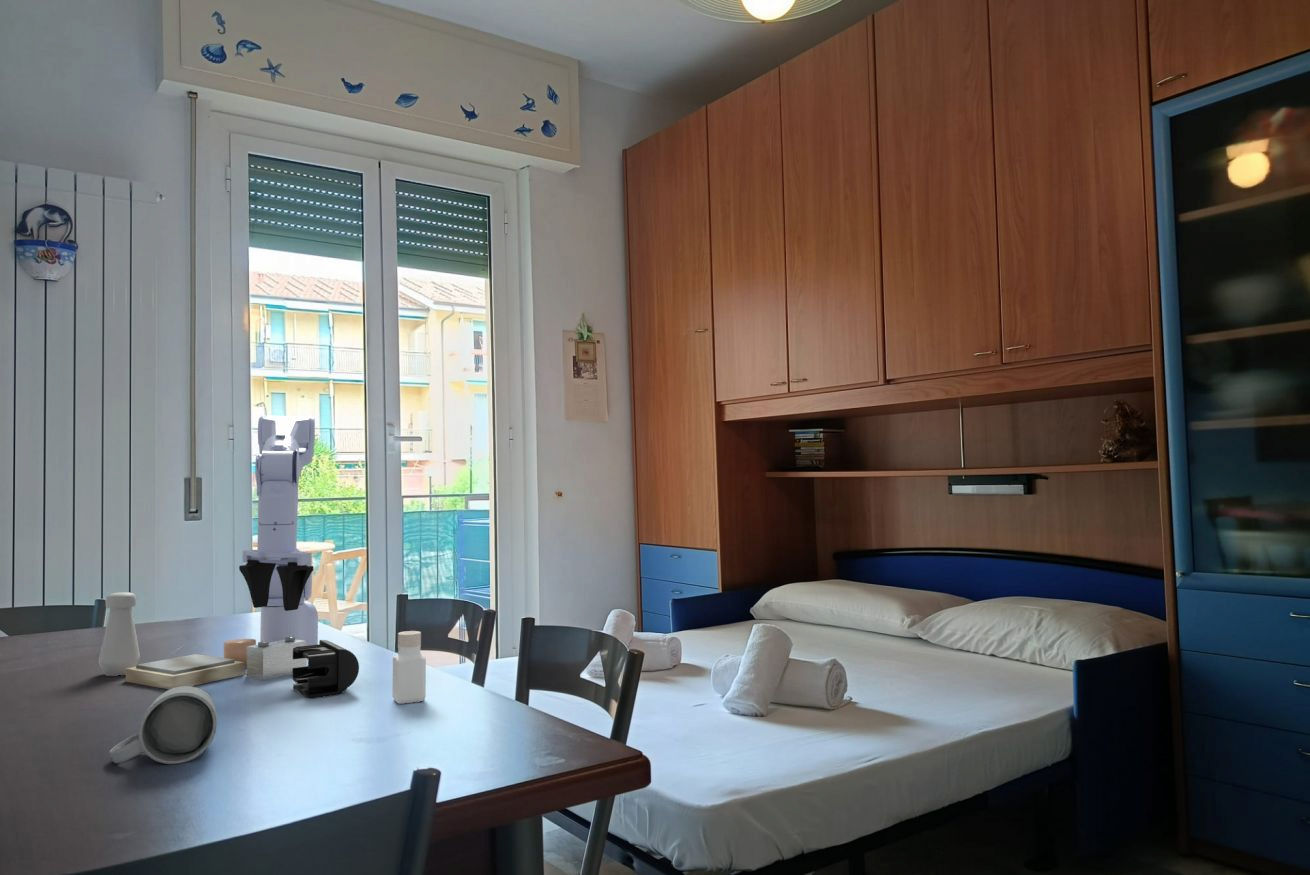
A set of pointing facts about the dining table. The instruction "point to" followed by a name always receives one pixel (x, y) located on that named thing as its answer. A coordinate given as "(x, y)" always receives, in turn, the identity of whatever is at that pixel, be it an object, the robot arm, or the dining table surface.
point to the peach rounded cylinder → (237, 649)
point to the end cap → (324, 670)
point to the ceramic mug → (172, 728)
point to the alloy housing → (273, 658)
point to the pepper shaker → (409, 669)
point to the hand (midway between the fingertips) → (275, 608)
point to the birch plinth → (184, 671)
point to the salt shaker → (119, 636)
